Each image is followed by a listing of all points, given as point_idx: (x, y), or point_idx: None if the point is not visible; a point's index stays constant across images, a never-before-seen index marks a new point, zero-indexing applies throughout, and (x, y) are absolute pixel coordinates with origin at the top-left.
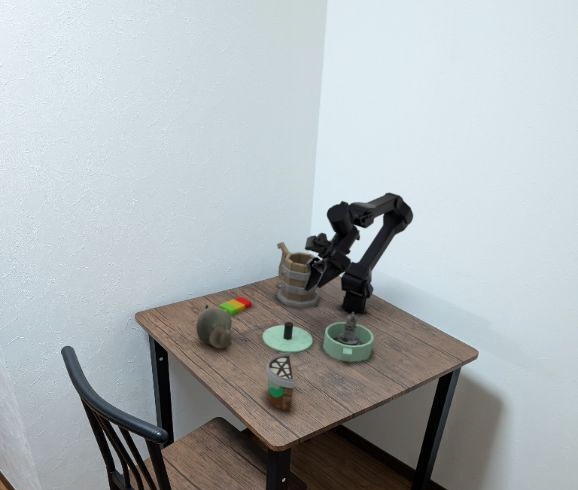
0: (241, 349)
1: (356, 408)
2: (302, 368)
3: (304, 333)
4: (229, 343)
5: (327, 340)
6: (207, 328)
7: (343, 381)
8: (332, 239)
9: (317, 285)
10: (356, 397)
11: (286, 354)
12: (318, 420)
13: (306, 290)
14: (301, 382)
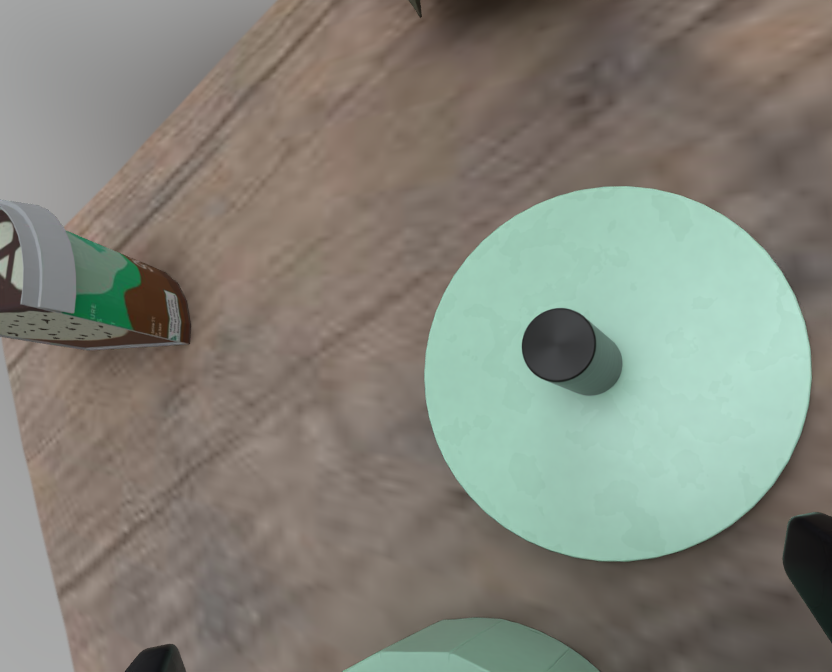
0: (480, 97)
1: (70, 627)
2: (313, 435)
3: (674, 510)
4: (414, 5)
5: (393, 644)
6: None
7: (212, 637)
8: None
9: (141, 656)
10: (118, 657)
11: (30, 286)
12: (45, 450)
13: (786, 548)
14: (219, 414)
